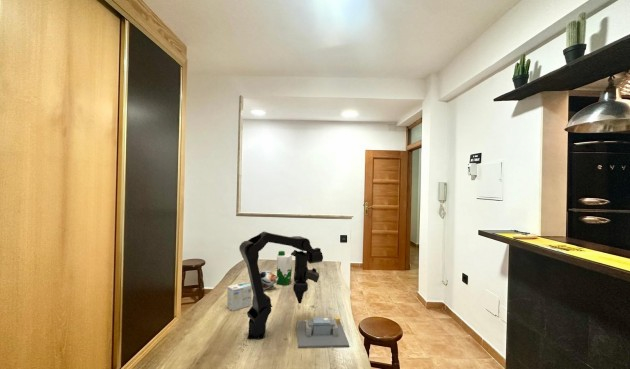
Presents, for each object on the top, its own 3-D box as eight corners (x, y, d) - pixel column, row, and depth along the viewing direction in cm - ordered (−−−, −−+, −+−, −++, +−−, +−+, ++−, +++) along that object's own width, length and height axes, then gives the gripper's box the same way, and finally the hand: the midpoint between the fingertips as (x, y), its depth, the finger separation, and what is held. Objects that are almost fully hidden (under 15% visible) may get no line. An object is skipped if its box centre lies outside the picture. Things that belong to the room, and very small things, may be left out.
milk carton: (279, 280, 184) (280, 249, 184) (292, 281, 182) (293, 250, 182) (274, 284, 175) (275, 252, 175) (288, 286, 173) (289, 254, 174)
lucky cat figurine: (274, 283, 178) (281, 266, 173) (272, 297, 167) (279, 280, 162) (251, 276, 176) (258, 259, 171) (248, 291, 165) (254, 273, 160)
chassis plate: (298, 348, 108) (298, 336, 108) (296, 322, 127) (297, 313, 128) (349, 347, 109) (349, 335, 109) (340, 322, 129) (340, 312, 129)
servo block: (308, 335, 116) (309, 321, 116) (307, 329, 120) (308, 316, 120) (334, 334, 117) (335, 321, 117) (333, 329, 121) (333, 316, 121)
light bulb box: (245, 301, 149) (245, 281, 149) (251, 305, 144) (252, 284, 144) (226, 307, 141) (227, 285, 142) (232, 311, 137) (233, 289, 137)
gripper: (320, 271, 119) (318, 308, 119) (317, 259, 137) (316, 291, 137) (294, 270, 118) (292, 307, 118) (294, 259, 137) (293, 291, 137)
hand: (299, 299), depth 127 cm, fingers open, 9 cm apart
